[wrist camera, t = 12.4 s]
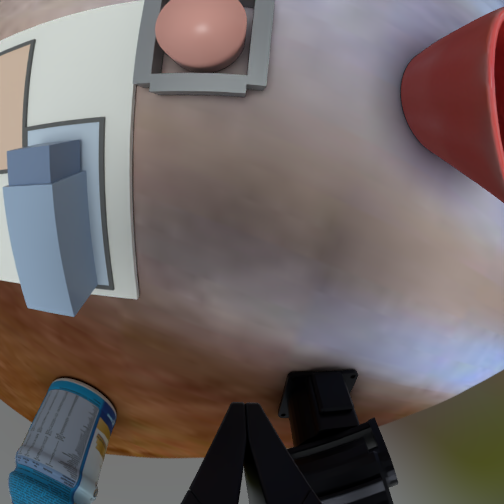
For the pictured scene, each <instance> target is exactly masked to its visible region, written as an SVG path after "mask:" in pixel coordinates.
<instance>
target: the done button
mask: <svg viewBox="0 0 504 504" xmlns="http://www.w3.org/2000/svg"><path fill="white" fill-rule="evenodd" d="M246 26H247V17H246V13H245V10H244V8H243V6H242V4H241V3H240V1H239V0H170V1H169V2H168V3H167V4H166V5H165V6H164V7H163V9H162V10H161V12H160V13H159V15H158V18H157V20H156V25H155V35H156V39H157V41H158V44H159V45H160V47H161V48H162V49H163V50H164V51H165V52H166V53H167V54H168V55H169V56H170V57H171V58H172V59H173V60H174V61H175V62H176V63H177V64H179V65H180V66H181V67H183V68H184V69H186V70H189V71H192V72H197V73H210V72H215V71H218V70H221V69H223V68H225V67H227V66H229V65H230V64H232V63H233V62H234V61H235V60H236V59H237V58H238V57H239V55H240V54H241V52H242V50H243V48H244V45H245V38H246Z"/></svg>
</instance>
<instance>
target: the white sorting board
mask: <svg viewBox="0 0 504 504" xmlns="http://www.w3.org/2000/svg"><path fill="white" fill-rule="evenodd" d="M144 1H145V0H141V1H133V2H127V3H121V4H115V5H110V6H105V7H100V8H95V9H91V10H87V11H83V12H79V13H75V14H72V15H68V16H65V17H61V18H58V19H55V20H52V21H49V22H46V23H43V24H40V25H37V26H34V27H32V28H29V29H27V30H24V31H22V32H19V33H17V34H14V35H12V36H10V37H7V38H5V39H3V40H1V41H0V280H3V281H9V282H14V283H20V281H19V277H18V273H17V269H16V265H15V261H14V256H13V252H12V247H11V242H10V237H9V231H8V225H7V219H6V213H5V205H4V197H3V187H4V186H7V185H9V183H8V169H7V151H10V150H14V149H18V148H22V147H27V146H31V145H36V144H42V143H50V142H59V141H68V140H79V139H80V171H86V175H87V196H88V210H89V222H90V232H91V241H92V249H93V256H94V263H95V270H96V276H97V282H98V285H97V286H96V288H95V289H94V290H93V292H92V293H91V294H94V295H102V296H110V297H119V298H128V299H138V298H139V287H138V278H137V267H136V255H135V242H134V224H133V196H132V150H133V123H134V106H135V93H136V85H134V84H133V74H134V65H135V56H136V49H137V42H138V35H139V29H140V23H141V17H142V12H143V6H144Z"/></svg>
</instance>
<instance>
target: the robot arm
mask: <svg viewBox="0 0 504 504" xmlns="http://www.w3.org/2000/svg"><path fill="white" fill-rule="evenodd" d="M357 377H358V373H357V371H356V370H343V371H324V372H293V373H290V374H288V376H287V380H286V383H285V387H284V391H283V395H282V399H281V403H280V406H279V410H278V416H279V417H280V418H289V419H290V425H291V432H292V438H293V445H294V447H293V448H289V449H286V448H285V446H284V444H283V443H282V441H281V439H280V438H279V436H278V434H277V433H276V431H275V429H274V428H273V426H272V424H271V423H270V421H269V419H268V418H267V416H266V414H265V413H264V411H263V409H262V407H261V406H260V404H259V403H246V404H244V403H243V402H232V403H231V404H230V406H229V408H228V410H227V413H226V415H225V417H224V419H223V421H222V423H221V425H220V427H219V429H218V432H217V434H216V436H215V438H214V440H213V442H212V444H211V446H210V448H209V450H208V452H207V454H206V456H205V458H204V460H203V462H202V464H201V466H200V468H199V470H198V472H197V474H196V476H195V478H194V480H193V482H192V484H191V486H190V488H189V489H190V490H188V491H187V493H186V495H185V497H184V499H183V501H182V503H181V504H238V502H239V495H240V487H241V480H242V473H243V466H244V473H245V479H246V486H247V492H248V498H249V504H393V501H392V498H391V494H390V492H389V487H392V486H395V485H397V484H398V481H397V477H396V473H395V470H394V467H393V464H392V461H391V458H390V455H389V453H388V450H387V448H386V445H385V442H384V440H383V437H382V435H381V432H380V430H379V428H378V425H377V423H376V420H375V418H372V419H370V420H368V422H365V423H363V424H359V421H358V418H357V415H356V412H355V410H354V405H353V402H352V399H351V397H350V392H351V390H352V388H353V386H354V384H355V381H356V379H357Z"/></svg>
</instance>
